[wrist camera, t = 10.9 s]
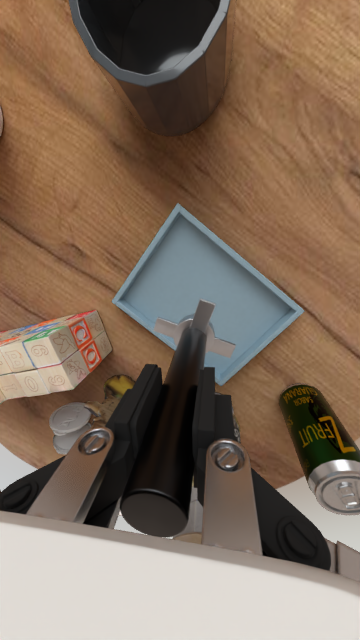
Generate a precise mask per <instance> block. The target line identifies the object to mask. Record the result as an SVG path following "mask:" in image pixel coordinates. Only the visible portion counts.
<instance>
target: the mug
mask: <svg viewBox="0 0 360 640" xmlns="http://www.w3.org/2000/svg"><path fill="white" fill-rule="evenodd" d="M2 129H3V115H2V110H1V107H0V136H1V134H2Z"/></svg>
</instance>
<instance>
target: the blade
mask: <svg viewBox="0 0 360 640" xmlns="http://www.w3.org/2000/svg"><path fill="white" fill-rule="evenodd" d="M215 306H216V304H215V303H212V302H209V301H206V300H204V299H201V298H200V300H199V303H198V306H197V309H196V311H195V314H191V315H188V316H185V317H184V318H182V319H181V320H180V321H179V323H175V322H172V321H169V320H167V319H164V318H161V317H157V320H156V324H155V327H154V330H153V331H155V332H158V333H161V334H164V335H166V336H169V337H172V338H174V342H175V345H176V346H177V348H176V351H175V353H174V356H173V359H172V362H171V364H170V367H169V370H168V372H167V375H166V378H165V381H164V383H163V386H162V389H161V391H160V394H159V397H158V400H157V402H156V405H155V408H154V410H153V413H152V416H151V419H150V421H149V424H148V427H147V429H146V432H145V435H144V438H143V440H142V443H141V446H140V448H139V451H138V454H137V456H136V459H135V462H134V465H133V467H132V470H131V473H130V475H129V478H128V481H127V484H126V486H125V489H124V492H123V494H122V497H121V500H120V511H121V514H122V516H123V518H124V519H125V520H126V522H127V523H128V524H130V525H131V526H132V527H133V528H135V529H136V530H138V531H140V532H142V533H144V534H147V535H151V536H156V537H172V536H176V535H178V534H180V533H181V532H183V531H184V530H185V528H186V526H187V524H188V521H189V513H190V503H191V493H192V483H193V473H194V458H193V448H192V426H193V417H194V410H195V402H196V395H197V387H198V380H199V372H200V369H201V370H204V363H205V354H206V353H207V352H209V351H211V352H214V353H216V354H219V355H222V356H225V357H228V358H230V357H231V355H232V353H233V351H234V349H235V347H236V344H234V343H231V342H228V341H225V340H223V339H220V338H217V337H215V330H214V326H213V324H212V323H211V322H210V319H211V316H212V314H213V311H214V309H215Z"/></svg>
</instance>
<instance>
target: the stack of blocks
mask: <svg viewBox="0 0 360 640" xmlns="http://www.w3.org/2000/svg"><path fill="white" fill-rule="evenodd" d="M111 351H112V347H111V345H110V342H109V340H108V337H107V335H106V332H105V329H104V327H103V324H102V322H101V319H100V317H99V314H98V312H97V310H93V311H89V312H85V313H81V314H78V315H76V314H74V315H70V316H66V317H62V318H58V319H53V320H49V321H44V322H41V323H38V324H34V325H30V326H25V327H22V328H18V329H13V330H9V331H2V332H0V404H1V403H2V402H4V401H5V400H7V399H14V398H20V397H26V396H27V397H31V396H38V395H45V394H50V393H53V392H59V391H66V390H72V389H74V388H75V387H76V386H77V385H78V384H79V383H80V382H81V381H82V380H83V379H84V378H85V377H86V376H87V375H88V374H89V373H91V372H92V371H93V370H94V369H95V368H96V367H97V366H98V365H99V364H100V363H101V361H102V360H103V359H104V358H105V357H106V356H107V355H108V354H109V353H110V352H111Z"/></svg>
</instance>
